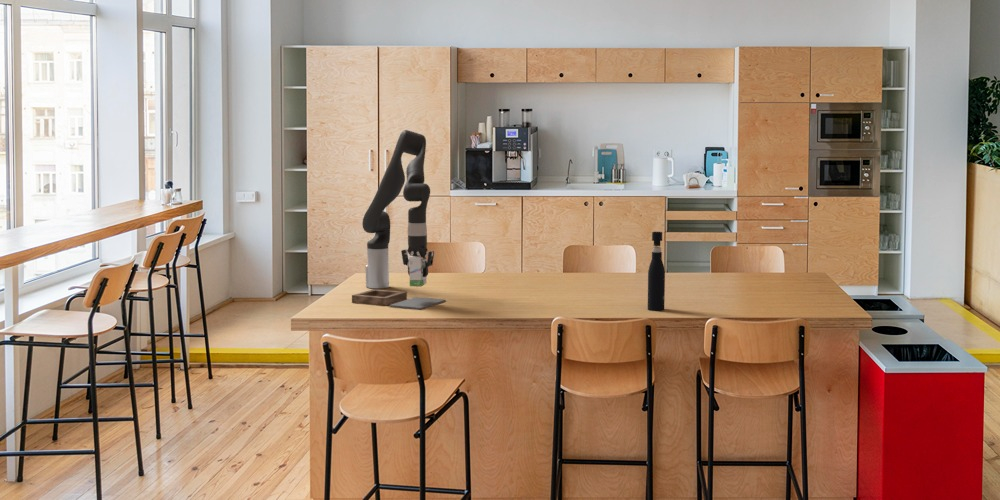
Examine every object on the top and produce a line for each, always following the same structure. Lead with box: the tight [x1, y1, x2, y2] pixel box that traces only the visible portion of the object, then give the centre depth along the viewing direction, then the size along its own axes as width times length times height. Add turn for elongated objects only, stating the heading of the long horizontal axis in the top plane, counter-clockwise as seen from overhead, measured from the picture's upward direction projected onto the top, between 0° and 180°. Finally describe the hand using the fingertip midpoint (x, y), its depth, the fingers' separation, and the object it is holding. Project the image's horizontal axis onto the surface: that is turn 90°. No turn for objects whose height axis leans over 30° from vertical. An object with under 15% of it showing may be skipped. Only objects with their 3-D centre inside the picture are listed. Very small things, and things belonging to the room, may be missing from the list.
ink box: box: [408, 255, 427, 288], centre depth 412 cm, size 8×5×12 cm, turn 169°
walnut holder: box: [351, 288, 408, 306], centre depth 421 cm, size 16×16×3 cm
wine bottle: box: [647, 231, 666, 312], centre depth 399 cm, size 6×6×30 cm
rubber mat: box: [389, 296, 447, 311], centre depth 414 cm, size 14×20×1 cm
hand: (418, 276), depth 412 cm, fingers closed on ink box, 5 cm apart
